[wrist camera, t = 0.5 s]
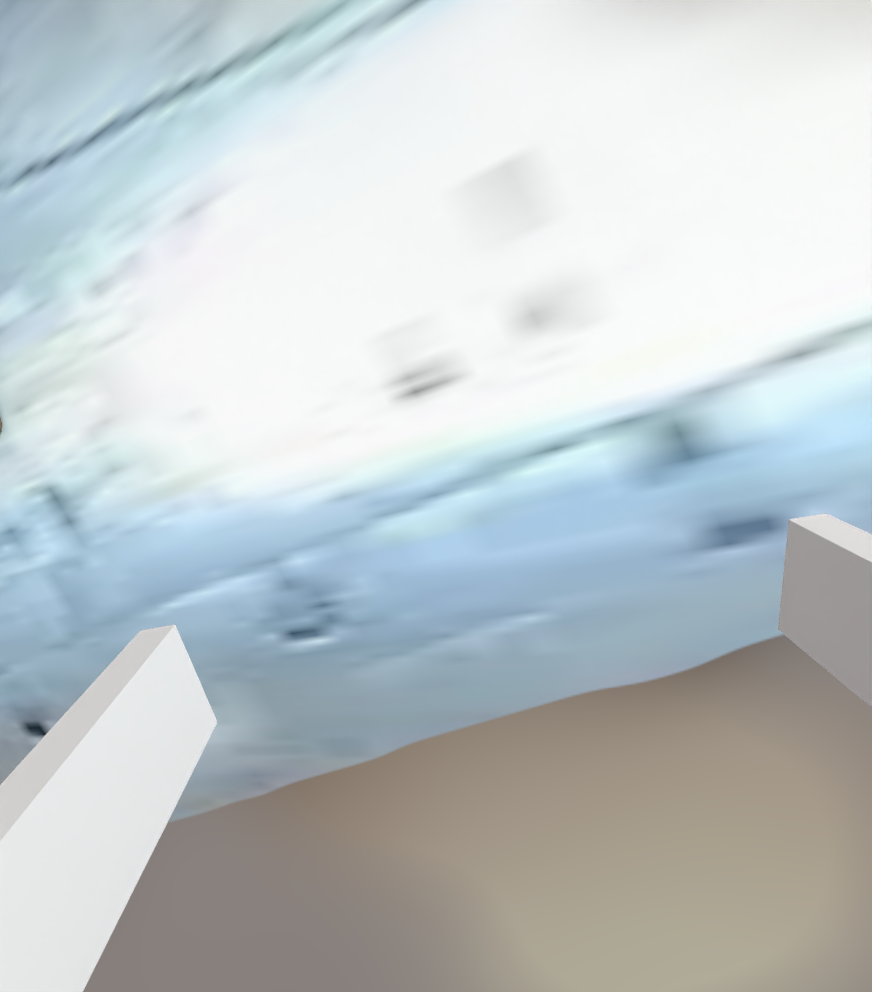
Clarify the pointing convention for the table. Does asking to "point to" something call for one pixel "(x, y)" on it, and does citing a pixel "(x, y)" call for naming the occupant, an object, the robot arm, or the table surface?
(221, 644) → the table surface
